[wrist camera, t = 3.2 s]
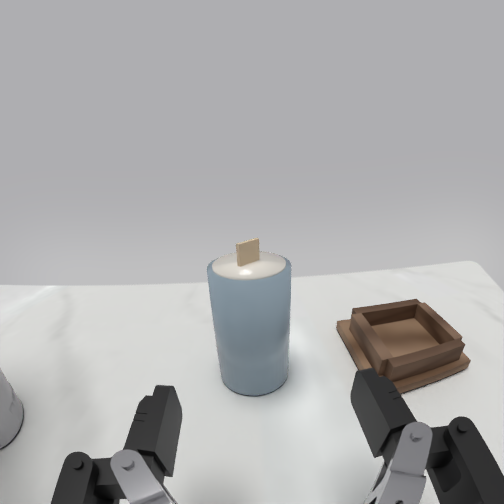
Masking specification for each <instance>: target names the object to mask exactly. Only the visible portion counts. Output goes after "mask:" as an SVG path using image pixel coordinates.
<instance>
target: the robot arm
mask: <svg viewBox="0 0 504 504" xmlns="http://www.w3.org/2000/svg"><path fill="white" fill-rule="evenodd" d="M351 403H352V406H353V408H354V411H355V413H356V415H357V418H358V420H359V423H360V425H361V427H362V430H363V432H364V434H365V437H366V439H367V442H368V444H369V446H370V449H371V451H372V454H373V456H374V458H376V457H379V456H383V458H384V461H383V463H382V466H381V468H380V471H379V473H378V475H377V478H376V480H375V482H374V484H373V487H372V489H371V491H370V493H369V495H368V497H367V498H366V500H365V501H364V503H363V504H419V502H420V499H421V496H422V493H423V490H424V487H425V483H426V476H424V470H425V469H426V470H427V472H428V474H429V477H430V479H431V482H432V484H433V487H434V489H435V492H436V494H437V497H438V500H439V502H440V504H504V476H503V474H502V472H501V470H500V468H499V466H498V464H497V462H496V461H495V459H494V457H493V455H492V453H491V452H490V450H489V448H488V446H487V445H486V443H485V441H484V440H483V438H482V436H481V435H480V433H479V431H478V430H477V428H476V427H475V425H474V423H473V422H472V421H471V420H470V419H469V418H467V417H456V418H454V419H453V420H452V421H451V422H450V424H449V425H448V426H442V427H434V428H430V427H429V426H428V425H426V424H425V423H422V422H417V421H416V419H415V417H414V416H413V414H412V412H411V411H410V409H409V408H408V406H407V404H406V403H405V401H404V399H403V398H402V397H401V395H400V393H399V391H397V388H396V386H395V385H394V383H393V382H392V381H391V380H389V379H388V378H387V377H385V376H381V377H379V375H378V374H377V372H376V370H375V369H374V368H368V369H364V370H359V371H357V372H356V374H355V378H354V382H353V386H352V390H351ZM22 419H23V407H22V403H21V401H20V399H19V398H18V396H17V395H16V393H15V392H14V390H13V388H12V386H11V385H10V383H9V382H8V381H7V379H6V377H5V376H4V374H3V372H2V370H1V369H0V448H2V447H4V446H5V445H7V444H8V443H9V442H10V441H11V440H12V439H13V438H14V437H15V435H16V434H17V432H18V431H19V428H20V426H21V423H22ZM133 420H134V421H133V422H132V425H131V428H130V431H129V434H128V437H127V440H126V443H125V446H124V448H123V450H121V451H119V452H117V453H115V454H114V455H113V457H111V458H101V459H91V458H90V457H89V456H88V455H87V454H85V453H83V452H73V453H71V454H69V455H68V456H67V457H66V459H65V461H64V464H63V467H62V469H61V472H60V475H59V478H58V482H57V485H56V488H55V491H54V495H53V498H52V501H51V504H119V501H120V499H128V501H129V503H130V504H178V503H177V502H176V501H175V499H174V498H173V497H172V495H171V494H170V493H169V491H168V490H167V488H166V487H165V486H164V484H163V482H164V476H168V477H173V470H174V464H175V457H176V451H177V445H178V439H179V434H180V428H181V422H182V408H181V405H180V402H179V399H178V397H177V394H176V391H175V388H174V386H164V385H156V387H155V389H154V392H153V395H152V396H145V397H144V398H143V399H142V400H141V401H140V403H139V404H138V407H137V410H136V414H135V416H134V419H133Z"/></svg>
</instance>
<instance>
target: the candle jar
mask: <svg viewBox="0 0 504 504" xmlns="http://www.w3.org/2000/svg"><path fill="white" fill-rule="evenodd" d="M236 249H237V250H236V251H237V252H236V253H231V254H228V255H225V256H222V257H220V258H217V259H216V260H214V261H212V262H211V263H210V264H209V265H208V267H207V274H208V283H209V292H210V300H211V308H212V316H213V324H214V331H215V338H216V345H217V352H218V359H219V366H220V372H221V378H222V380H223V382H224V384H225V385H226V386H227V387H228V388H229V389H231V390H233V391H234V392H237V393H240V394H243V395H263V394H267V393H270V392H272V391H274V390H276V389H278V388H279V387H280V386H281V385H282V384H283V383H284V382H285V380H286V378H287V375H288V359H289V336H290V303H291V263H290V261H289V260H287V259H286V258H284V257H282V256H280V255H277V254H274V253H269V252H262V251H261V252H260V251H259V239H258V238H255V239H251V240H248V241H244V242H241V243H237V244H236Z"/></svg>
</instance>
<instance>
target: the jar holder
mask: <svg viewBox="0 0 504 504" xmlns="http://www.w3.org/2000/svg"><path fill="white" fill-rule="evenodd" d="M336 328H337V330H338V332H339V334H340V336H341V337H342V339H343V341H344V343H345V345H346V347H347V349H348V350H349V352H350V354H351V356H352V358H353V360H354V362H355V364H356V365H357V367H358V369H359V370H364V369H368V368H374V369H375V370H376V372H377V374H378V375H379V377H381V376H385V377H387V378H388V379H389V380H391V381H392V382H393V383H394V385H395V386H396V388H397V391H399V393H403V392H406V391H409V390H412V389H415V388H418V387H421V386H424V385H426V384H429V383H432V382H434V381H437V380H440V379H442V378H445V377H447V376H450V375H452V374H454V373H457V372H459V371H461V370H463V369H466V368H467V367H468V365H469V363H470V361H471V360H470V359H469V358H468V357H467V356H466V355H465V354H464V353H463V352H462V351H463V348H464V346H465V344H464V343H463V342H462V341H461V339H462V336H461V335H460V334H459V333H458V332H457V331H456V330H455V329H454V328H453V327H451V326H450V325H449V324H448V323H447V322H446V321H445V320H444V319H443V318H442V317H441V316H439V315H438V314H437V313H436V312H435V311H434V310H433V309H432V308H431V307H429V306H428V305H427V304H426V303H421V302H419V301H418V300H417V299H413V300H407V301H401V302H394V303H388V304H381V305H374V306H367V307H360V308H353V310H352V315H351V319H349V320H341V321H337V327H336Z"/></svg>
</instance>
